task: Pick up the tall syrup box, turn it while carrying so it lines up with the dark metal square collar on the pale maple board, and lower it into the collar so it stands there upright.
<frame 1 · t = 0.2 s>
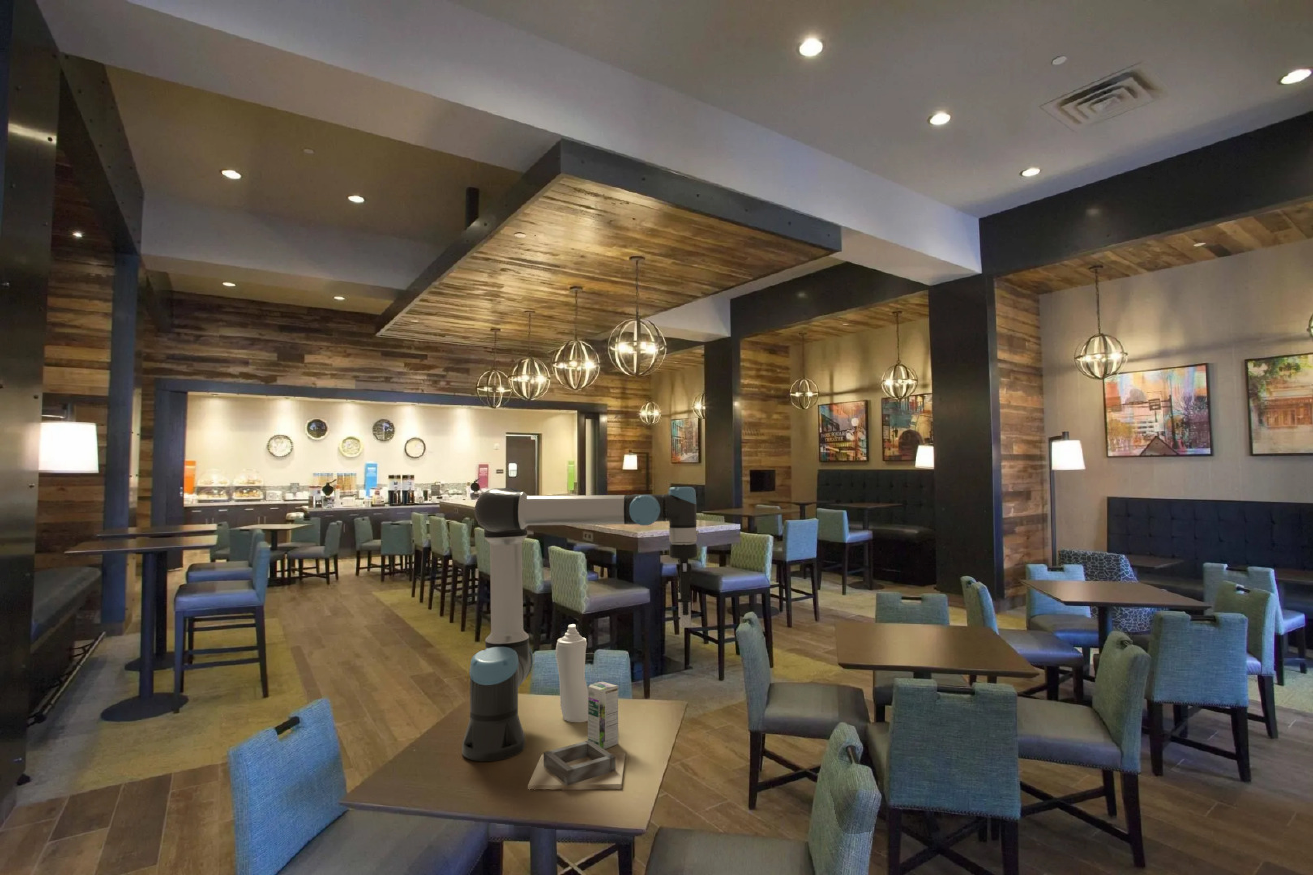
hand: (684, 621, 173), 28 cm above the table, tool pointing down, fingers open, 13 cm apart
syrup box: (603, 745, 160), on the table
socket board: (579, 772, 144), on the table
spray can: (574, 715, 181), on the table
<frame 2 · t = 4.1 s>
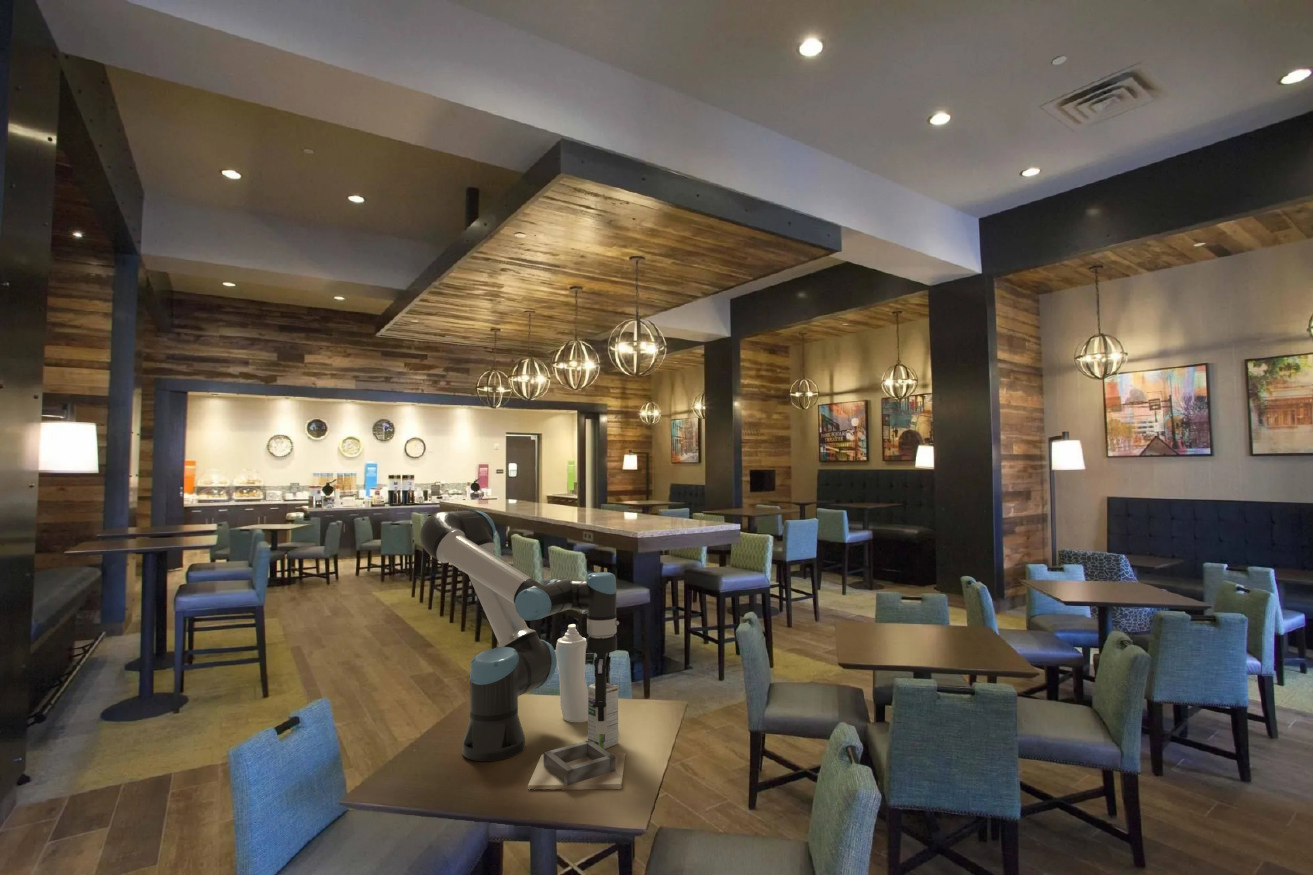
hand: (603, 726, 160), 4 cm above the table, tool pointing down, fingers closed on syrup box, 8 cm apart
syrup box: (603, 745, 160), on the table, touching gripper
everything else where it was.
when the fingers open (7 cm above the table, at t = 10.2 s): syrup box drops 1 cm, resting on socket board.
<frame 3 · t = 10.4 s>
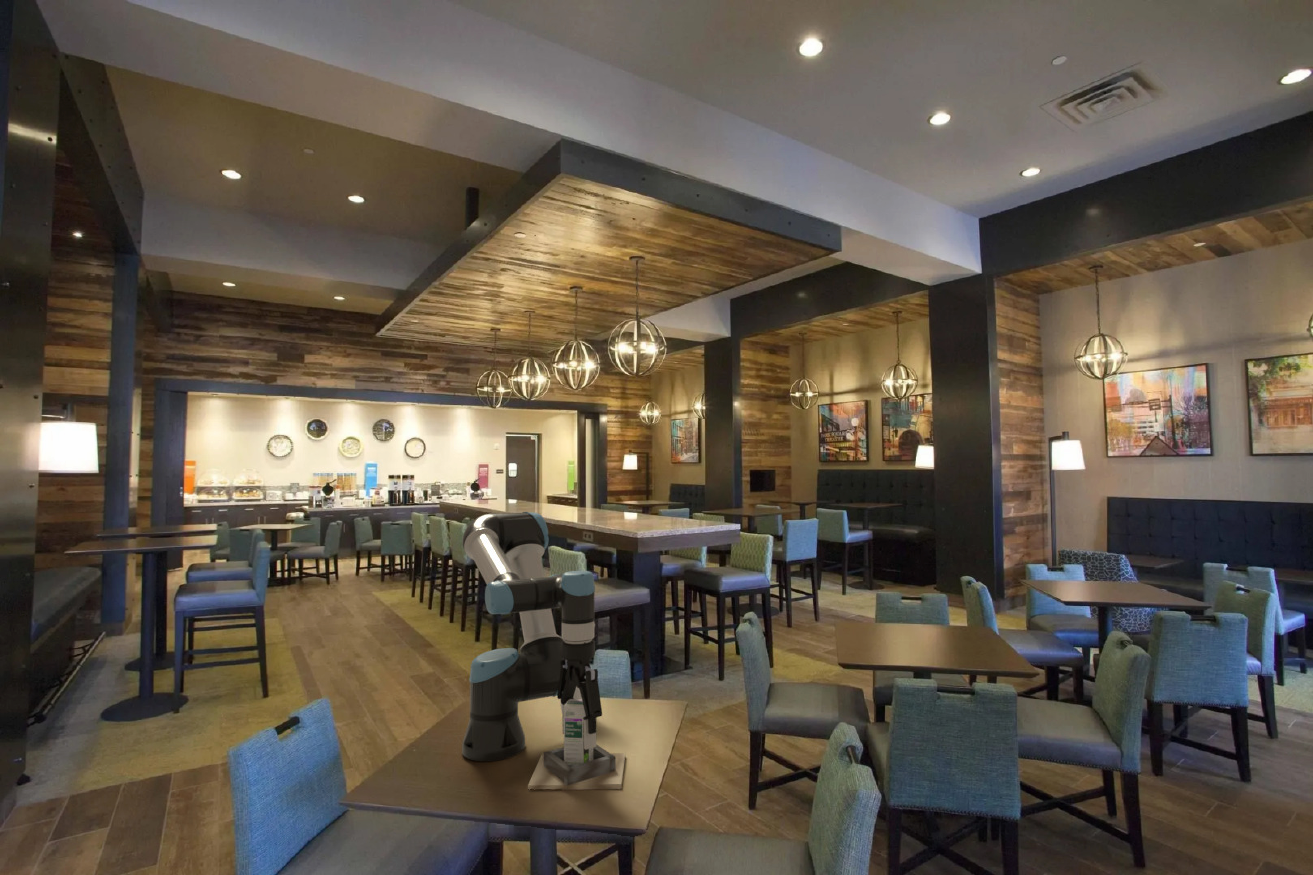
hand: (579, 739, 145), 7 cm above the table, tool pointing down, fingers open, 10 cm apart
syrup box: (578, 768, 144), point 1 cm above the table, touching socket board
everything else where it was.
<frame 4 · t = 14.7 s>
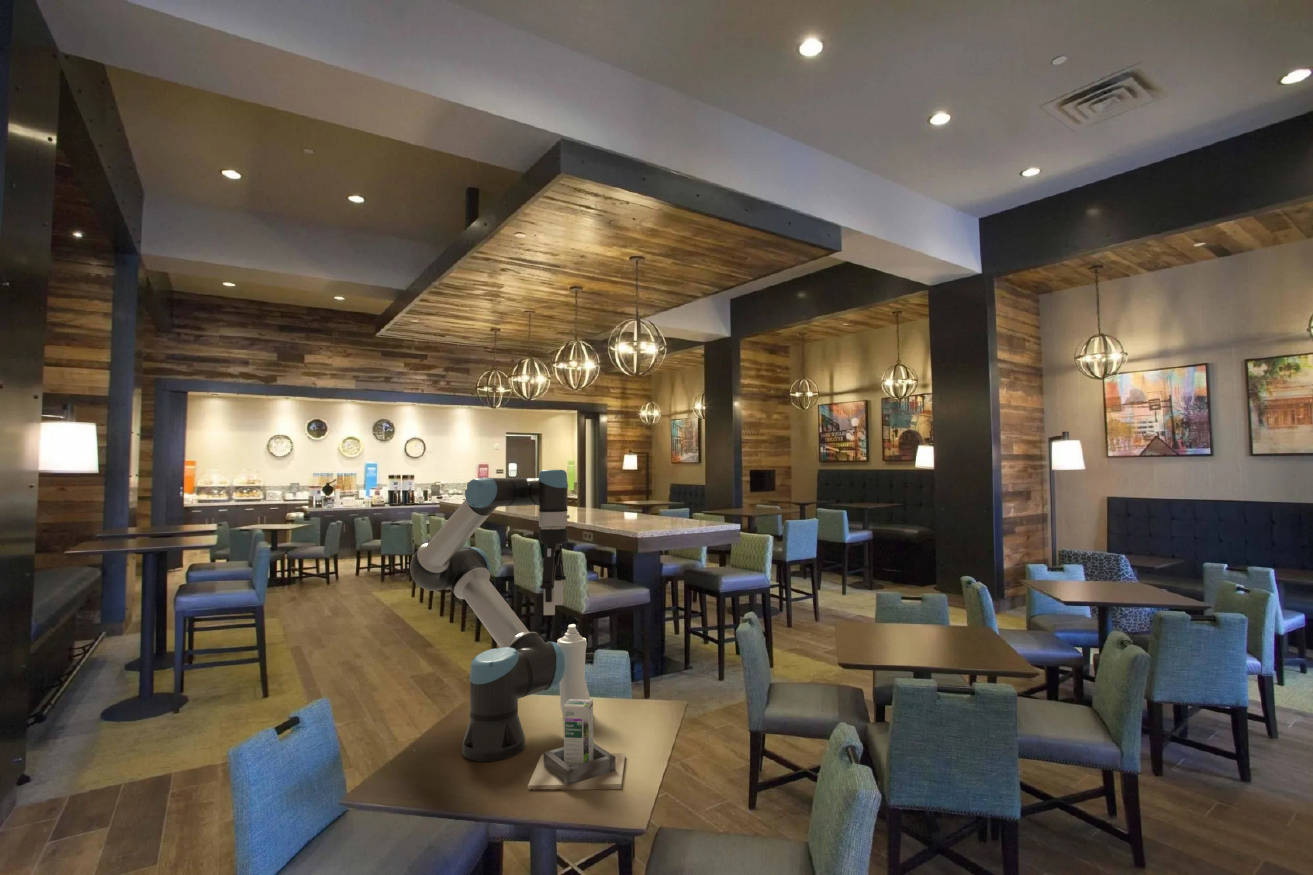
hand: (553, 609, 167), 33 cm above the table, tool pointing down, fingers open, 13 cm apart
nothing on the table moved.
at the end: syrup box 0.3 cm off-centre on the socket board, point 0.8 cm above the socket board's base; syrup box tilted 0°; the gripper is holding nothing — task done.
